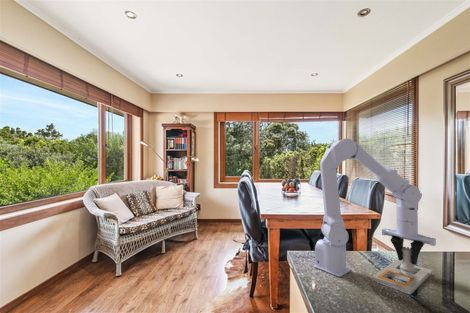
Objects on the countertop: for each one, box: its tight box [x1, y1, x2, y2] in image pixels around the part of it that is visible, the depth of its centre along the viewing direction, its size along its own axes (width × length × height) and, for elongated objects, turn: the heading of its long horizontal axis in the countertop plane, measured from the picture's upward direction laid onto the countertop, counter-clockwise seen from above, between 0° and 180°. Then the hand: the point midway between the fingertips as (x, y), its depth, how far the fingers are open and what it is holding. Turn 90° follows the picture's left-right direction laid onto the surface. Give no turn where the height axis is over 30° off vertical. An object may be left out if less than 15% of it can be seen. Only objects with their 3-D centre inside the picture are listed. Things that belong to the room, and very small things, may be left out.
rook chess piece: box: [399, 246, 417, 274], centre depth 79 cm, size 4×4×8 cm
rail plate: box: [371, 259, 432, 295], centre depth 76 cm, size 10×20×1 cm, turn 128°
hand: (407, 261), depth 79 cm, fingers closed on rook chess piece, 3 cm apart
